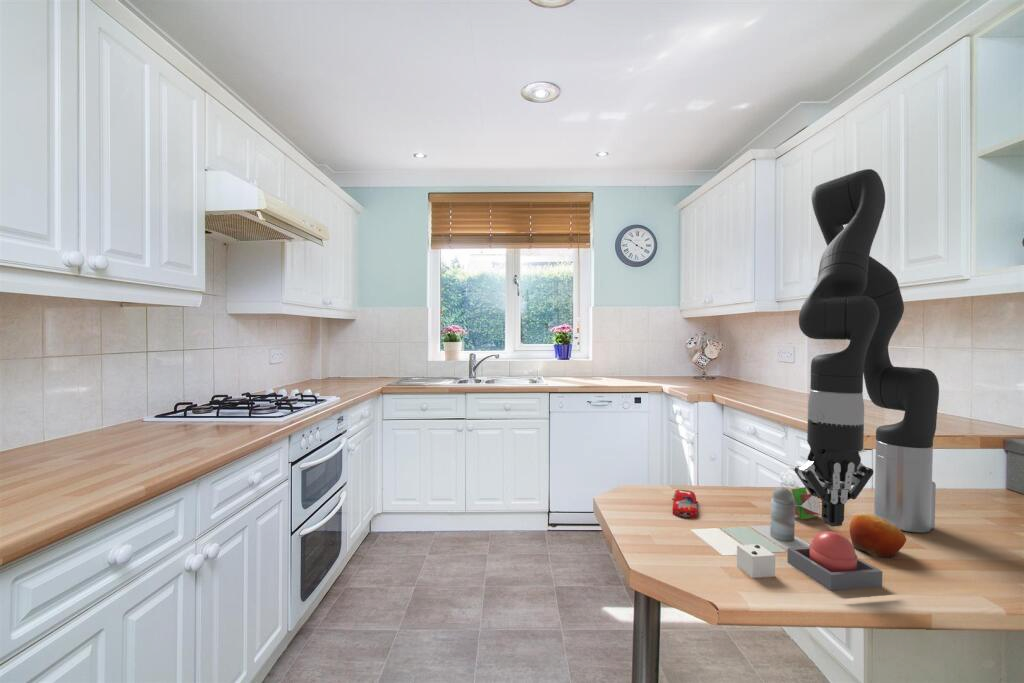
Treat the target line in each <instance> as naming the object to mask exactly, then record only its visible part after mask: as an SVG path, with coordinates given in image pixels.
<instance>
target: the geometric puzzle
mask: <svg viewBox="0 0 1024 683" xmlns="http://www.w3.org/2000/svg"><path fill="white" fill-rule="evenodd" d="M790 491H791V492H792V494H793V496H794V502H795V515H798V516H799V519H800V520H805V519H806V520H805V521H807V519H809V520H810V519H813V518H815V517H816V518H815V519H817V518H819V516H822V513H821V504H822V501H821V499H820V498H818V497H815V496H812V495H811V494H810V493H809V491H808V490H807V488H806V487H805V486H804V487H800V488H793V489H792V488H791V489H790ZM819 500H820V502H819Z"/></svg>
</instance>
